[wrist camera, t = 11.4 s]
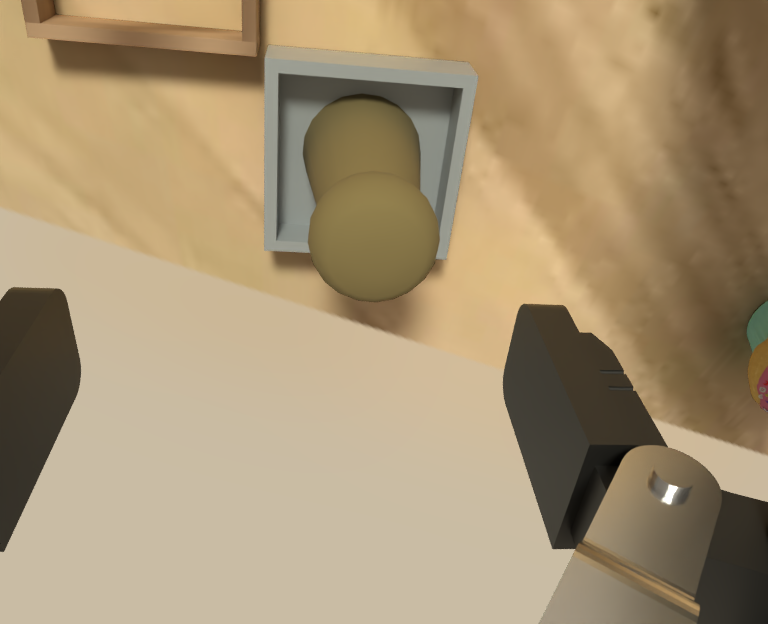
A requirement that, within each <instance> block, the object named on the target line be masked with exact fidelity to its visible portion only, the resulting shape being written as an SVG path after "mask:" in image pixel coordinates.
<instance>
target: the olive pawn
mask: <svg viewBox="0 0 768 624" xmlns="http://www.w3.org/2000/svg"><path fill="white" fill-rule="evenodd" d="M303 159H304V163H305V168H306V172H307V176H308V179H309V182H310V186H311V189H312V192H313V196H314V199H315V202H316V208H315V210H314V212H313V214H312V216H311V218H310V226H309V234H308V246H309V250H310V254H311V259H312V262H313V264H314V266H315V268H316V269H317V271H318V272H319V274H320V275H321V277H322V278H323V280H324V281H325V282H326V283H327V284H328V285H330V286H331V287H332V288H333V289H335V290H336V291H337V292H338V293H341V294H343V295H346V296H348V297H351V298H353V299H356V300H359V301H369V302H380V301H386V300H392V299H395V298H397V297H399V296H401V295H403V294H406V293H408V292H409V291H411V290H412V289H413V288H414V287H416V286H417V285H418V284H419V283H420V282H422V281H423V280H424V279H425V278H426V276H427V275H428V273H429V271H430V270H431V268H432V267H433V265H434V264H435V259H436V255H437V251H438V247H439V242H440V235H439V226H438V220H437V217H436V215H435V213H434V211H433V209H432V207H431V205H430V203H429V201H428V199H427V197H426V196H425V195H423V194H422V193H421V192H420V170H421V151H420V142H419V134H418V132H417V130H416V128H415V126H414V124H413V122H412V120H411V118H410V117H409V116H408V115H407V114H406V113H405V112H404V111H403V110H402V109H401V108H400V107H399V106H398V105H397V104H395V103H393V102H391V101H389V100H387V99H385V98H383V97H381V96H376V95H369V94H362V93H361V94H355V95H349V96H343V97H341V98H339V99H337V100H335V101H333V102H331V103H329V104H328V105H326V106H325V107H324V108H323V109H322V110H321V111H320V112H319V113H318V114H317V115H316V116H315V117H314V118H313V119H312V121H311V123H310V125H309V127H308V130H307V132H306V134H305V136H304V144H303Z"/></svg>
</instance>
